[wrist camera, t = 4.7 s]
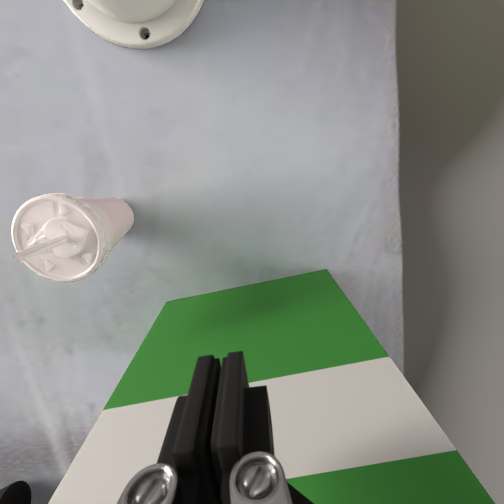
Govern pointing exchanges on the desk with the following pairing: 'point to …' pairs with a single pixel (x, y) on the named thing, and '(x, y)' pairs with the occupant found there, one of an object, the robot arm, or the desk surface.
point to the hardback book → (282, 400)
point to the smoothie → (68, 234)
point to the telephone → (16, 494)
